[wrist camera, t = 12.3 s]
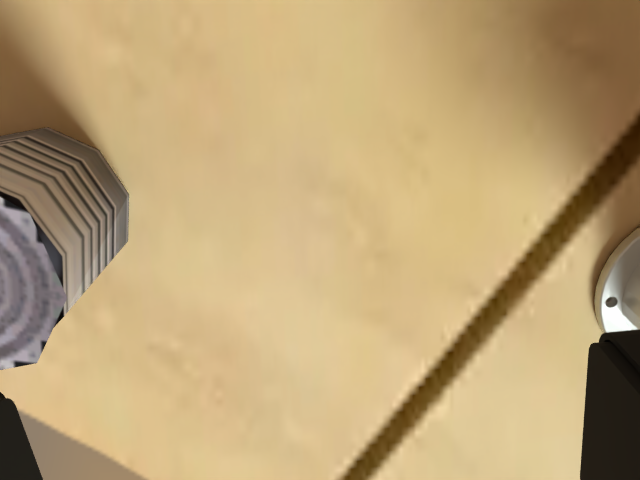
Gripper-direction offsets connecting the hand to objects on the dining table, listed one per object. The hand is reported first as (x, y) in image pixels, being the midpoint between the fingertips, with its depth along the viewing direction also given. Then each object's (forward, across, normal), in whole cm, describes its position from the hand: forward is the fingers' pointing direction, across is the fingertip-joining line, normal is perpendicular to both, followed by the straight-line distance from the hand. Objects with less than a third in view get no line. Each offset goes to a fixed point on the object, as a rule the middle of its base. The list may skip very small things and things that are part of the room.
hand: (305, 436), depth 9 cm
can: (+31, +19, +4) cm, 36 cm away
